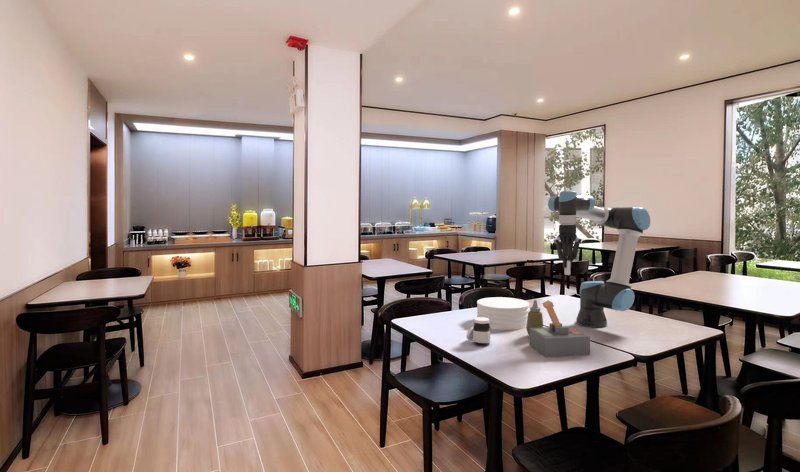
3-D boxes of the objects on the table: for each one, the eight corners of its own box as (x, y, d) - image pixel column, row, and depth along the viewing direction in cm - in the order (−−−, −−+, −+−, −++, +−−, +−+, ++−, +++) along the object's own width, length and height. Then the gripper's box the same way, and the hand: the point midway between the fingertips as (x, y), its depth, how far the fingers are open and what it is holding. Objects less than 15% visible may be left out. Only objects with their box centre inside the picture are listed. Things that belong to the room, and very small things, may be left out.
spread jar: (488, 347, 191) (488, 322, 190) (463, 345, 195) (463, 320, 194) (492, 340, 202) (492, 316, 201) (468, 337, 206) (468, 314, 205)
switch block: (570, 343, 196) (571, 319, 195) (589, 354, 180) (590, 329, 179) (529, 345, 194) (529, 321, 193) (545, 357, 178) (545, 331, 177)
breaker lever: (560, 328, 188) (548, 300, 187) (565, 330, 185) (552, 302, 183) (554, 331, 188) (542, 303, 187) (559, 333, 184) (546, 305, 183)
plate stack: (540, 324, 229) (540, 303, 229) (504, 333, 214) (504, 310, 213) (501, 314, 252) (501, 295, 252) (466, 321, 237) (466, 301, 236)
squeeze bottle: (534, 340, 201) (535, 302, 200) (522, 335, 208) (523, 299, 207) (547, 337, 205) (547, 300, 204) (534, 333, 212) (535, 298, 211)
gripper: (576, 223, 201) (576, 272, 203) (550, 224, 200) (550, 273, 201) (585, 224, 194) (584, 275, 195) (558, 225, 192) (558, 276, 194)
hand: (567, 274), depth 198 cm, fingers closed
